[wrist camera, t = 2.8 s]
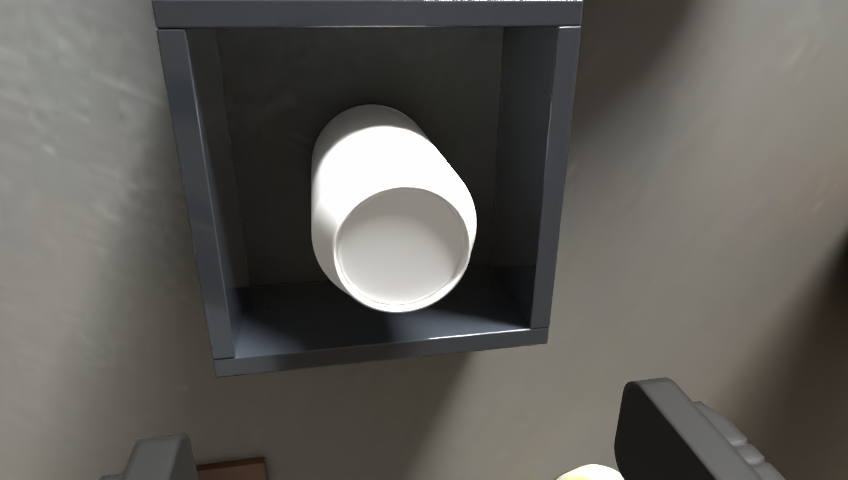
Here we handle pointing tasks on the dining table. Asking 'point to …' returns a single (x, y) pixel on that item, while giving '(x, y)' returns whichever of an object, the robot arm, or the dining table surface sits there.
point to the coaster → (234, 470)
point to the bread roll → (592, 473)
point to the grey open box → (322, 300)
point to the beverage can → (388, 211)
